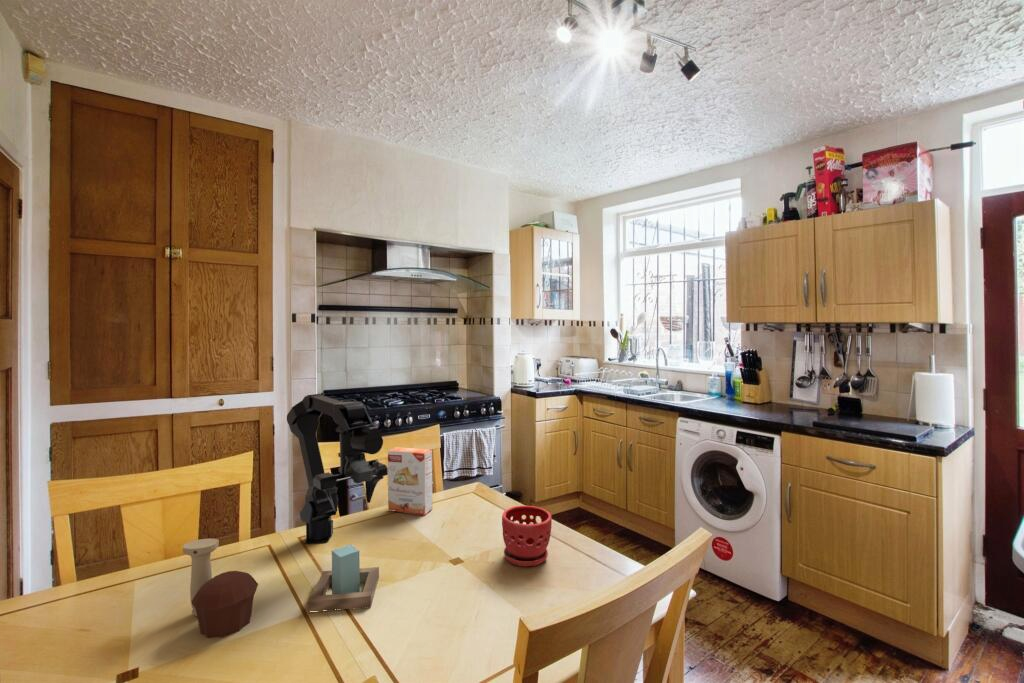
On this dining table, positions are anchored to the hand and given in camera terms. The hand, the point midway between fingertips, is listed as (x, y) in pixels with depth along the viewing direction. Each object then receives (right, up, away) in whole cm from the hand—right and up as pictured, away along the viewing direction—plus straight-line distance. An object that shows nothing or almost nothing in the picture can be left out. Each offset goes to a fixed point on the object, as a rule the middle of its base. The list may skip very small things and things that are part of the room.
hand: (352, 506), depth 126 cm
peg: (+5, -13, -19) cm, 24 cm away
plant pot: (+47, -13, -3) cm, 49 cm away
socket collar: (+5, -13, -19) cm, 24 cm away
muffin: (-16, -14, -30) cm, 37 cm away
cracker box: (+9, -13, +32) cm, 36 cm away
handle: (-23, -14, -26) cm, 38 cm away
